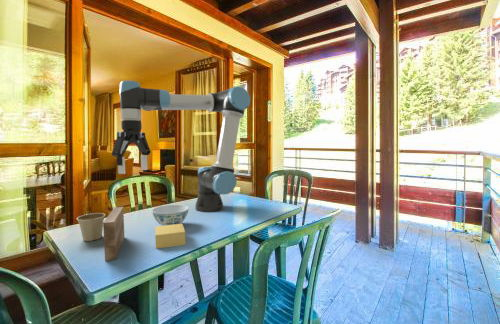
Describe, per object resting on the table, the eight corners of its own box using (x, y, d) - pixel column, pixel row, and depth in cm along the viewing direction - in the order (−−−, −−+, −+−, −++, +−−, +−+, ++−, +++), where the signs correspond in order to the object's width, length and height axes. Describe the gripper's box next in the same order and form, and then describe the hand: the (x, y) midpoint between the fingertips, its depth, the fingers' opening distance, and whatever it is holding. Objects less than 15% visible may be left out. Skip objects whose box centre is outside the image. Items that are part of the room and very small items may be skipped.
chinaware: (185, 231, 107) (185, 213, 106) (148, 232, 106) (147, 214, 105) (191, 220, 122) (190, 204, 121) (158, 221, 121) (157, 205, 120)
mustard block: (182, 235, 103) (182, 223, 102) (185, 245, 93) (185, 231, 93) (155, 239, 99) (155, 226, 99) (155, 249, 90) (155, 235, 90)
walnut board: (124, 237, 101) (123, 206, 100) (115, 259, 82) (114, 221, 81) (115, 238, 100) (114, 207, 99) (105, 260, 81) (103, 222, 80)
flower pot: (75, 244, 94) (73, 221, 93) (80, 236, 102) (79, 214, 101) (105, 240, 97) (104, 218, 97) (107, 232, 106) (106, 211, 105)
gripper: (143, 122, 120) (145, 168, 122) (99, 118, 96) (102, 175, 98) (157, 121, 118) (159, 168, 120) (116, 117, 94) (119, 175, 96)
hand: (133, 171), depth 109 cm, fingers open, 13 cm apart
